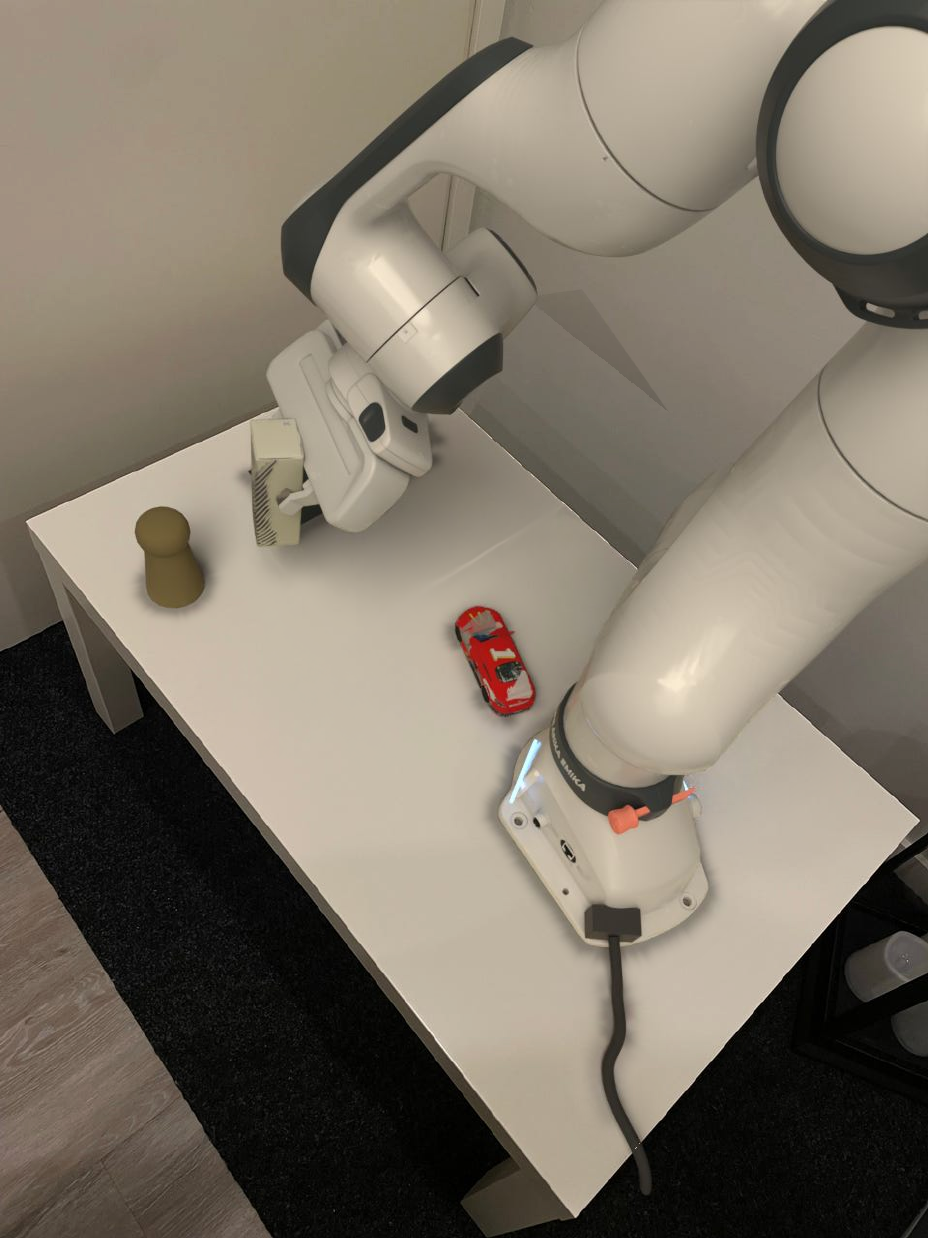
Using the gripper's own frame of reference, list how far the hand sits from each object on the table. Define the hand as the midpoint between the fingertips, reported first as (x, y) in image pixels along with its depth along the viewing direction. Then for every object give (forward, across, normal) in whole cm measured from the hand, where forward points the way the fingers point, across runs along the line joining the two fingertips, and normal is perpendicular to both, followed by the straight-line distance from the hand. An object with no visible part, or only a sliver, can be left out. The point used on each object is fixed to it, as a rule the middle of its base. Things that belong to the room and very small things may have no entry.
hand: (272, 482), depth 82 cm
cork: (+19, -3, +5) cm, 20 cm away
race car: (-1, +17, +25) cm, 30 cm away
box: (+5, 0, +5) cm, 7 cm away
